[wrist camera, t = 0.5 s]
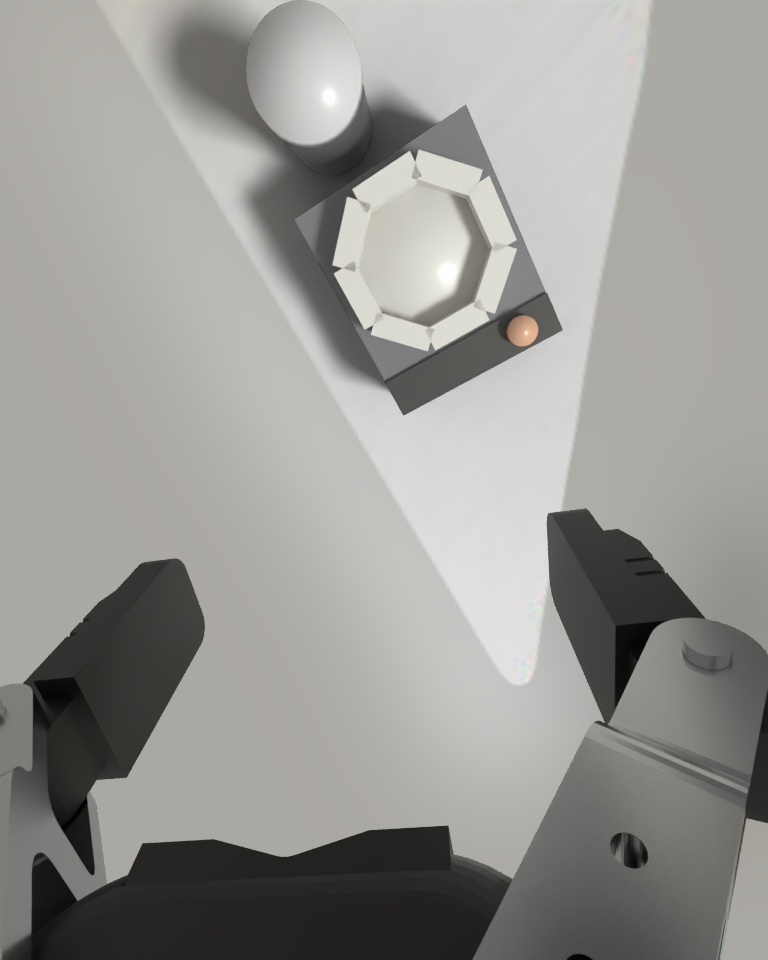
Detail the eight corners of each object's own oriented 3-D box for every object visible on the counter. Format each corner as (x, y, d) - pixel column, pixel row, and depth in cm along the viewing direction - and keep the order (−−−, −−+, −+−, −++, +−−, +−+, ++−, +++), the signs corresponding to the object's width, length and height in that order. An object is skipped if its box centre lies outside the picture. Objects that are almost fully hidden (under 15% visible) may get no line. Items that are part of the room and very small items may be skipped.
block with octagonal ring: (311, 229, 31) (287, 216, 25) (456, 133, 29) (469, 93, 23) (404, 397, 35) (403, 421, 29) (539, 323, 32) (569, 332, 26)
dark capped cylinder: (284, 75, 28) (240, 1, 21) (373, 74, 28) (360, -1, 21) (290, 177, 30) (251, 142, 23) (373, 177, 30) (361, 142, 22)
